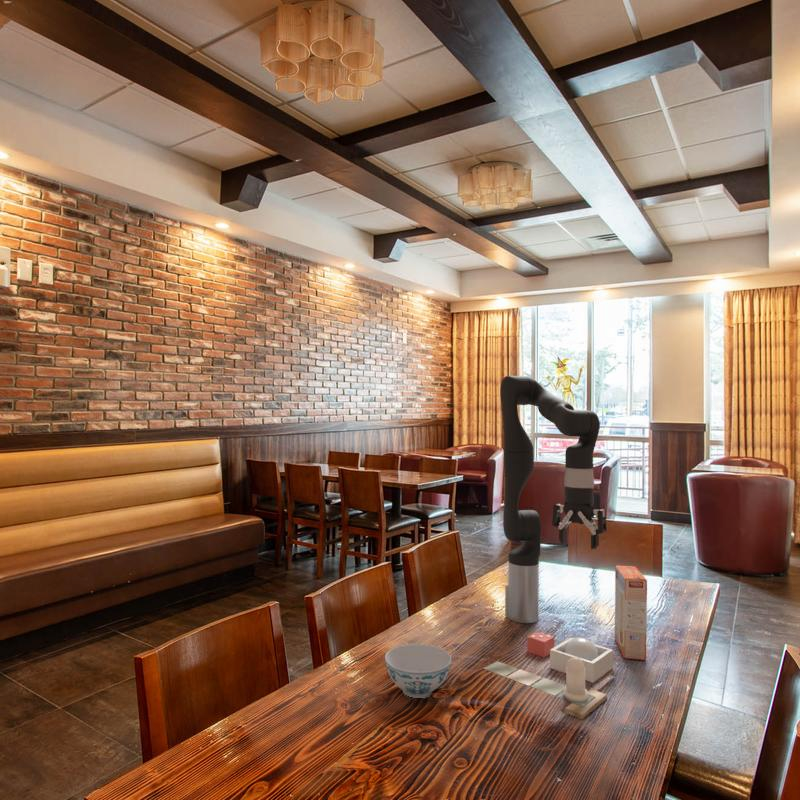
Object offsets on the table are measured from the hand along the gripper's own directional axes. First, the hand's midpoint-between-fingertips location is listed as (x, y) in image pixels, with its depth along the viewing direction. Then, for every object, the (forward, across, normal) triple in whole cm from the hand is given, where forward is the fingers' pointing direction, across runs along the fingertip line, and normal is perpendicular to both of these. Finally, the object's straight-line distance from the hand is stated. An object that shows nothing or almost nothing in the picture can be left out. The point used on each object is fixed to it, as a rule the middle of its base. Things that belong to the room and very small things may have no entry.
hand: (578, 546), depth 152 cm
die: (+28, -6, -9) cm, 30 cm away
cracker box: (+28, +9, +12) cm, 32 cm away
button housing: (+28, +6, -10) cm, 31 cm away
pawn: (+27, +12, -25) cm, 39 cm away
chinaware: (+28, -16, -46) cm, 56 cm away
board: (+28, +2, -25) cm, 38 cm away
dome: (+28, +6, -10) cm, 30 cm away
